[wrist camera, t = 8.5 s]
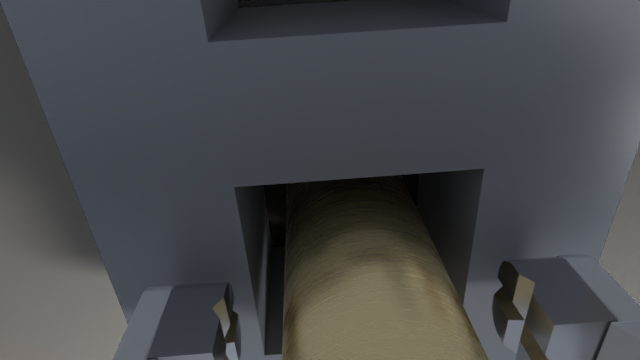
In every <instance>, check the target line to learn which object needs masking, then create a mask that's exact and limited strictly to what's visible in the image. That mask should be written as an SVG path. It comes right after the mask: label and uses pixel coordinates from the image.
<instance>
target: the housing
mask: <svg viewBox="0 0 640 360" xmlns="http://www.w3.org/2000/svg"><path fill="white" fill-rule="evenodd" d="M0 3H1V6H2V8H3V11H4V13H5V16H6V19H7V21H8V24H9V26H10V29H11V31H12V34H13V36H14V39H15V41H16V44H17V46H18V49H19V51H20V54H21V56H22V59H23V61H24V64H25V66H26V69H27V71H28V74H29V76H30V79H31V81H32V84H33V86H34V89H35V91H36V94H37V96H38V99H39V101H40V104H41V106H42V109H43V112H44V114H45V117H46V119H47V122H48V124H49V127H50V129H51V132H52V134H53V137H54V139H55V142H56V144H57V147H58V149H59V152H60V154H61V157H62V159H63V162H64V164H65V167H66V169H67V172H68V174H69V177H70V179H71V182H72V184H73V187H74V189H75V192H76V194H77V197H78V200H79V202H80V205H81V207H82V210H83V212H84V215H85V217H86V220H87V222H88V225H89V227H90V230H91V232H92V235H93V237H94V240H95V242H96V245H97V247H98V250H99V252H100V255H101V257H102V260H103V262H104V265H105V267H106V270H107V272H108V275H109V277H110V280H111V282H112V285H113V288H114V290H115V293H116V295H117V298H118V300H119V303H120V305H121V308H122V310H123V313H124V315H125V318H126V320H127V323H128V324H129V322H130V320H131V318H132V315H133V313H134V311H135V309H136V306H137V304H138V302H139V300H140V297H141V295H142V293H143V292H144V291H145V290H146V289H147V288H148V287H158V286H176V285H185V284H203V283H222V282H229V283H230V284H232V289H233V293H234V297H235V299H234V305H233V311H234V312H236V313H237V314H238V315H239V321H240V327H241V356H240V360H282V340H283V305H284V271H285V246H278V247H272V240H271V233H270V226H269V219H268V211H267V204H266V197H265V190H264V185H271V184H284V183H298V182H311V181H325V180H338V179H352V178H365V177H379V176H392V175H405V174H419V183H418V197H417V210H418V212H419V214H420V216H421V218H422V220H423V222H424V224H425V227H426V229H427V231H428V233H429V235H430V237H431V239H432V241H433V243H434V245H435V248H436V250H437V252H438V254H439V256H440V258H441V260H442V262H443V264H444V267H445V269H446V271H447V273H448V275H449V277H450V279H451V281H452V283H453V286H454V288H455V290H456V292H457V294H458V296H459V298H460V300H461V302H462V304H463V307H464V309H465V311H466V313H467V315H468V317H469V319H470V321H471V323H472V326H473V328H474V330H475V332H476V334H477V336H478V338H479V340H480V342H481V344H482V347H483V349H484V351H485V353H486V355H487V357H488V359H489V360H515V358H516V353H515V352H513V351H512V350H510V349H509V348H508V347H506V346H505V345H503V343H502V341H501V339H500V337H499V335H498V333H497V331H496V328H495V325H494V322H493V313H492V303H493V297H494V294H495V293H496V292H497V291H498V290H499V289H500V288H501V287H502V286H503V285H502V284H501V282H500V280H499V279H498V277H497V276H498V272H499V267H500V265H501V264H502V262H503V261H506V260H518V259H529V258H541V257H556V256H560V255H570V254H581V253H585V254H587V255H589V256H591V257H593V258H594V259H595V260H596V261H597V262H598V261H599V258H600V255H601V252H602V250H603V247H604V244H605V241H606V238H607V235H608V232H609V229H610V227H611V224H612V221H613V218H614V215H615V212H616V209H617V206H618V204H619V201H620V198H621V195H622V192H623V189H624V186H625V183H626V181H627V178H628V175H629V172H630V169H631V166H632V163H633V161H634V158H635V155H636V152H637V149H638V146H639V143H640V0H351V1H336V2H321V3H305V4H290V5H275V6H260V7H245V8H239V4H238V0H0Z"/></svg>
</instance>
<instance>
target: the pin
mask: <svg viewBox="0 0 640 360" xmlns="http://www.w3.org/2000/svg"><path fill="white" fill-rule="evenodd" d="M282 360H489V359H488V357H487V355H486V353H485V351H484V349H483V347H482V344H481V342H480V340H479V338H478V336H477V334H476V332H475V330H474V328H473V326H472V323H471V321H470V319H469V317H468V315H467V313H466V311H465V309H464V307H463V304H462V302H461V300H460V298H459V296H458V294H457V292H456V290H455V288H454V286H453V283H452V281H451V279H450V277H449V275H448V273H447V271H446V269H445V267H444V264H443V262H442V260H441V258H440V256H439V254H438V252H437V250H436V248H435V245H434V243H433V241H432V239H431V237H430V235H429V233H428V231H427V229H426V227H425V224H424V222H423V220H422V218H421V216H420V214H419V212H418V210H417V208H416V205H415V203H414V201H413V199H412V197H411V195H410V193H409V191H408V189H407V187H406V184H405V182H404V180H403V178H402V176H401V175H392V176H379V177H365V178H352V179H338V180H325V181H311V182H298V183H287V202H286V236H285V271H284V305H283V340H282Z"/></svg>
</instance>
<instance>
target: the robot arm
mask: <svg viewBox="0 0 640 360" xmlns="http://www.w3.org/2000/svg"><path fill="white" fill-rule="evenodd" d="M497 277H498V279H499V280H500V282H501V284H502V285H503V286H502V287H501V288H500V289H499V290H498V291H497V292H496V293H495V294H494V297H493V303H492V313H493V322H494V325H495V328H496V331H497V333H498V335H499V337H500V339H501V341H502V343H503V345H505V346H506V347H508V348H509V349H510V350H512V351H513V352H515V353H516V358H515V360H640V306H639V305H638V304H637V303H636V302H635V301H634V300H633V299H632V298H631V297H630V296H629V295H628V293H627V292H626V291H625V290H624V289H623V288H622V287H621V286H620V285H619V284H618V283H617V282H616V281H615V280H614V279H613V278H612V277H611V276H610V275H609V274H608V273H607V272H606V271H605V270H604V269H603V268H602V267H601V266H600V265H599V263H598V262H597V261H596V260H595V259H594V258H593V257H591V256H589V255H587V254H585V253H581V254H570V255H560V256H556V257H541V258H529V259H518V260H506V261H503V262H502V264H501V265H500V267H499V272H498V276H497ZM234 299H235V297H234V293H233V289H232V284H230V283H229V282H222V283H203V284H185V285H176V286H158V287H148V288H147V289H146V290H145V291H144V292H143V293H142V295H141V297H140V300H139V302H138V304H137V306H136V309H135V311H134V313H133V315H132V318H131V320H130V322H129V324H128V327H127V329H126V331H125V333H124V336H123V338H122V340H121V342H120V344H119V347H118V349H117V351H116V353H115V356H114V358H113V360H240V356H241V327H240V321H239V315H238V314H237V313H236V312H234V311H233V305H234Z"/></svg>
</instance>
